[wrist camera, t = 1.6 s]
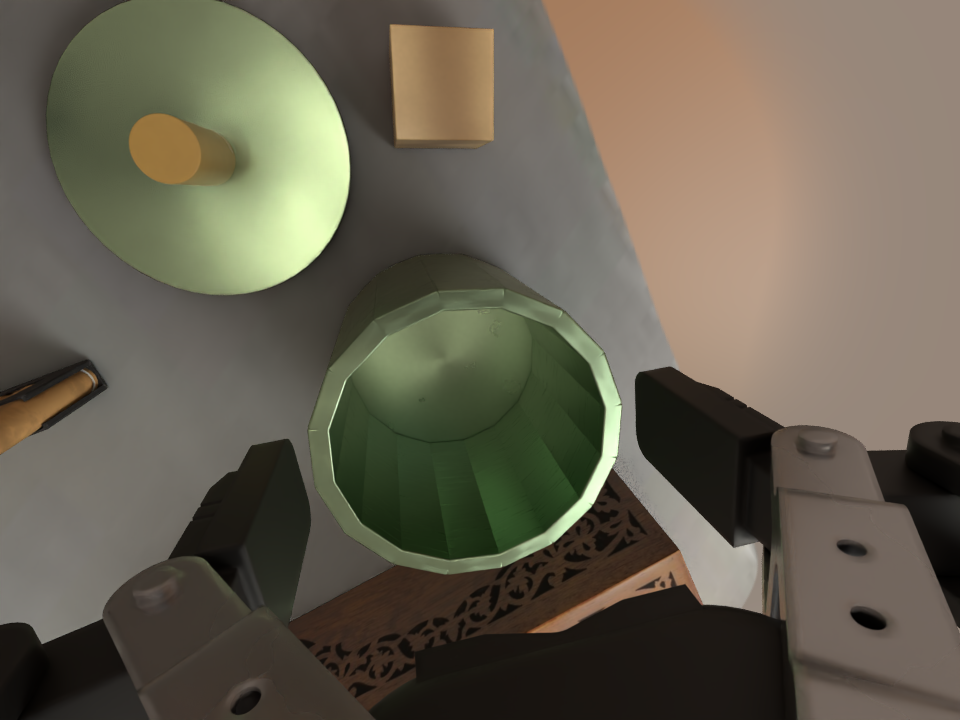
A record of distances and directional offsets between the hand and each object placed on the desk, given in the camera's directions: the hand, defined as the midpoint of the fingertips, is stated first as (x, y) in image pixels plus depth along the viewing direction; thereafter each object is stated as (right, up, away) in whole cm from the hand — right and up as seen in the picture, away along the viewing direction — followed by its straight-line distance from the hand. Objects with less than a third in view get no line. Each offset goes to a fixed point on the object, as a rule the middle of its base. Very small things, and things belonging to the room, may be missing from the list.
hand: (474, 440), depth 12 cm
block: (-2, +15, +15) cm, 22 cm away
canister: (-2, +2, +19) cm, 20 cm away
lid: (-13, +12, +13) cm, 22 cm away
